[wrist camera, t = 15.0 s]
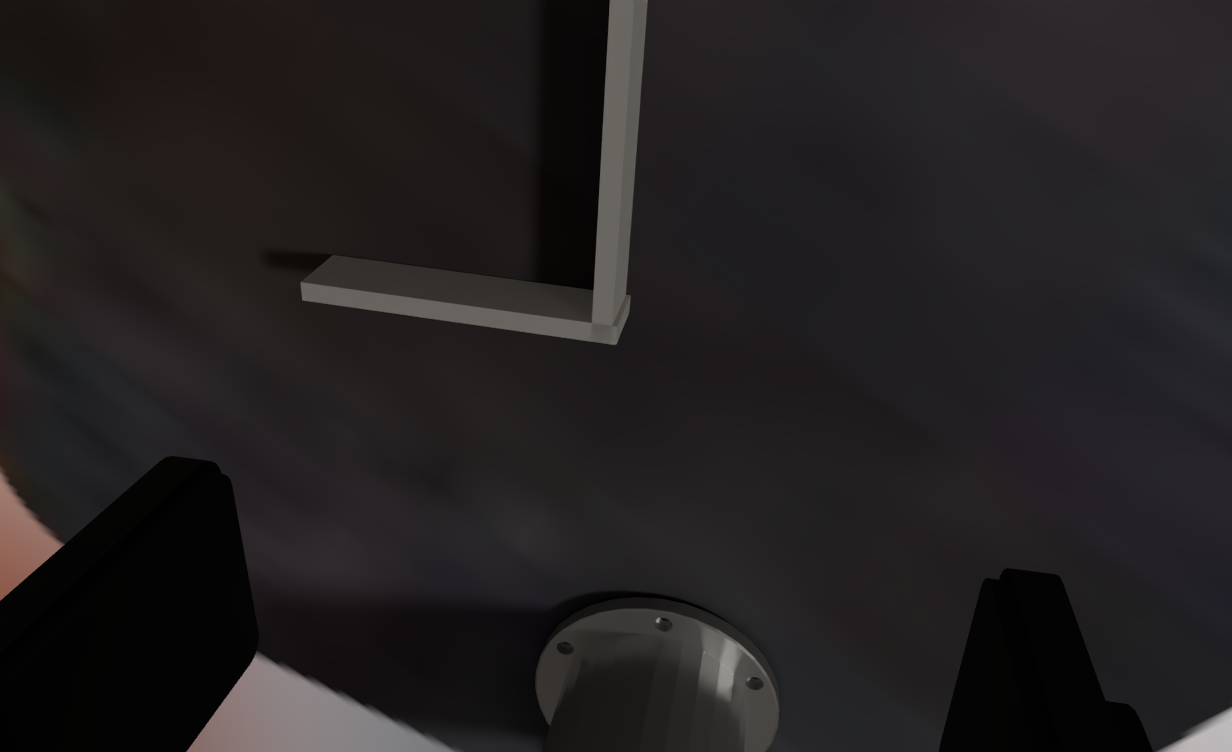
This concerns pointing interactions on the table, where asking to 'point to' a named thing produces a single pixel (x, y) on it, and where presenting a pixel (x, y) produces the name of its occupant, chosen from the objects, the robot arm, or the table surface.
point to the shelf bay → (515, 299)
